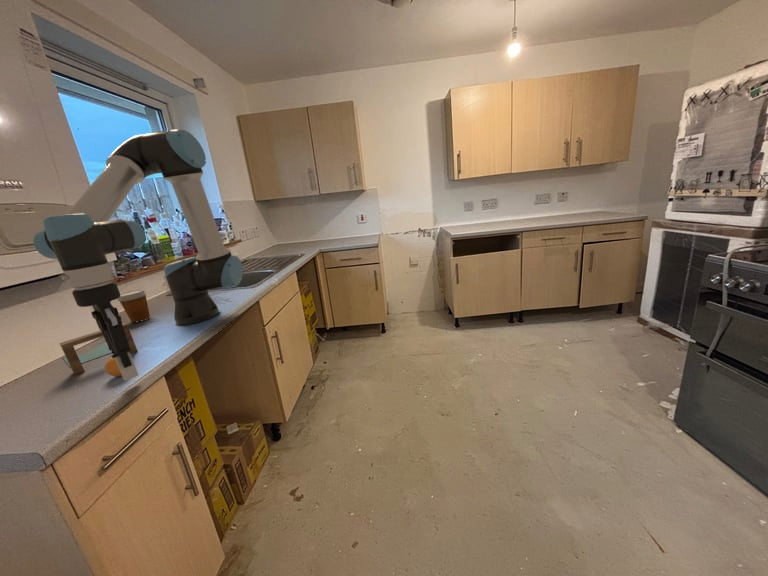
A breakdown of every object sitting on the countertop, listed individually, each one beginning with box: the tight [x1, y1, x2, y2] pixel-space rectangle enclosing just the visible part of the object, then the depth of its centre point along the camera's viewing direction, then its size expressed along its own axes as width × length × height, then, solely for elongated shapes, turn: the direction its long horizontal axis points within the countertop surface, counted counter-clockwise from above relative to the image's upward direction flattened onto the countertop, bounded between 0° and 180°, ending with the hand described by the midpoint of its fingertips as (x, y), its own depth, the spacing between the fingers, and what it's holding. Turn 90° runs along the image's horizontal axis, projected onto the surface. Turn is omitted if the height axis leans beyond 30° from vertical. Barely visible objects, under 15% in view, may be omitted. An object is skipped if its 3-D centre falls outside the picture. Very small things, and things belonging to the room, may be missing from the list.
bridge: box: [59, 322, 138, 376], centre depth 91 cm, size 3×14×9 cm, turn 143°
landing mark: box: [62, 342, 112, 367], centre depth 100 cm, size 14×14×1 cm
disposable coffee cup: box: [116, 288, 151, 323], centre depth 127 cm, size 10×10×12 cm
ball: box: [104, 356, 122, 377], centre depth 82 cm, size 6×6×6 cm
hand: (131, 377), depth 76 cm, fingers closed
